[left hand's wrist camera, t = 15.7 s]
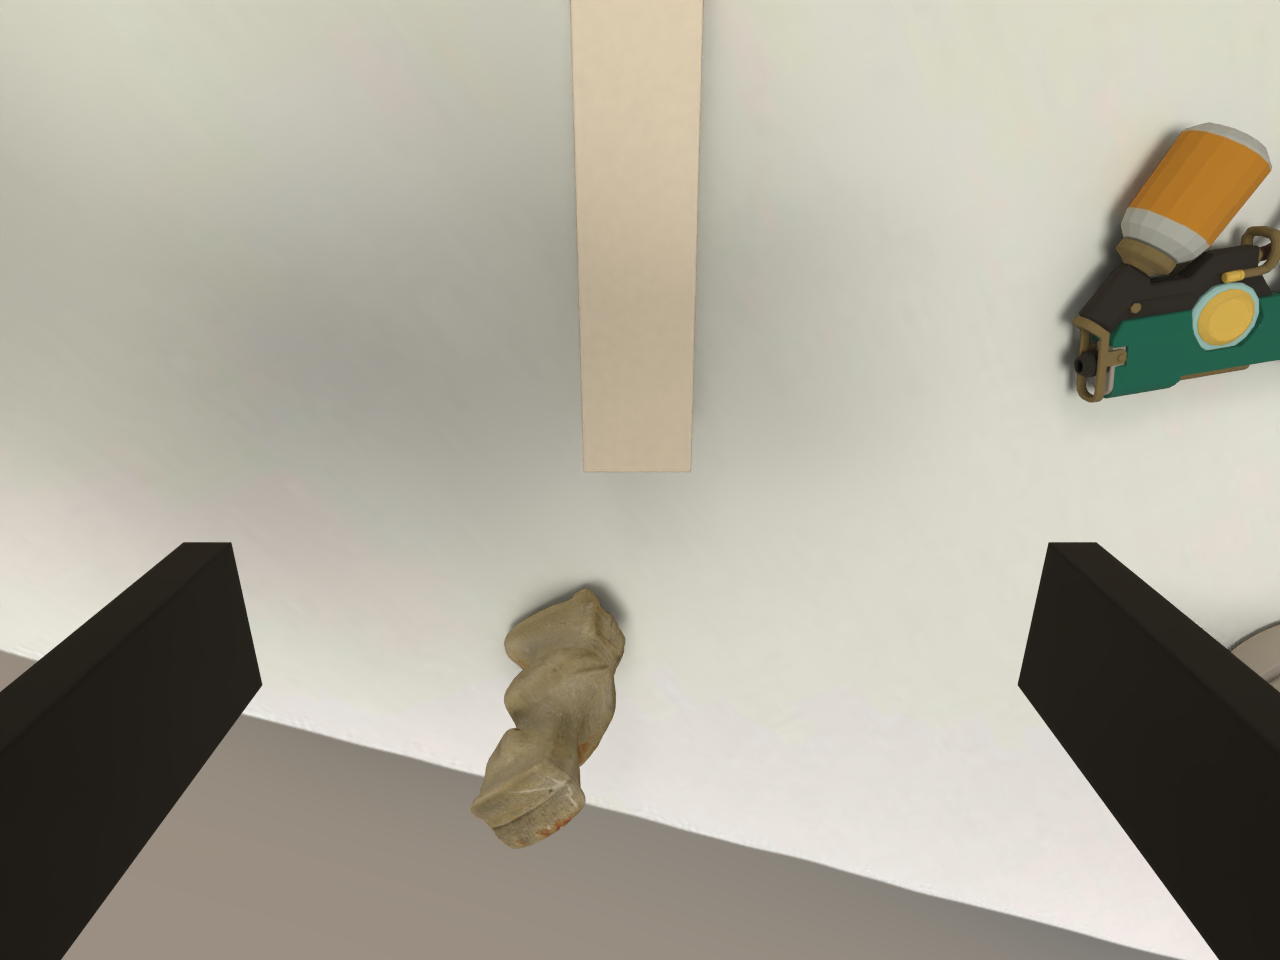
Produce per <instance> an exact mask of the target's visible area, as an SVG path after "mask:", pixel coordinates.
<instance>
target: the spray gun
mask: <svg viewBox="0 0 1280 960" xmlns="http://www.w3.org/2000/svg"><path fill="white" fill-rule="evenodd" d="M1271 169H1272V166H1271V163H1270V159H1269V156H1268V153H1267V150H1266V148H1265V147H1264V146H1263V145H1262V144H1261V143H1260V142H1259V141H1258V140H1256V139H1255V138H1253V137H1251V136H1250V135H1248V134H1246V133H1244V132H1241V131H1239V130H1237V129H1234V128H1231V127H1227V126H1224V125H1219V124H1214V123H1204V124H1200V125H1197V126H1194V127H1191V128H1187V129H1185V130H1184V131H1182V133H1181V134H1180V135H1179V137H1178V138H1177V140H1176V141H1175V142H1174V144H1173V145H1172V147H1171V148H1170V149H1169V151H1168V152H1167V154H1166V155H1165V156H1164V158H1163V159H1162V161H1161V162H1160V163H1159V165H1158V166H1157V168H1156V169H1155V170H1154V172H1153V173H1152V175H1151V176H1150V177H1149V179H1148V180H1147V182H1146V183H1145V184H1144V186H1143V187H1142V189H1141V190H1140V191H1139V193H1138V194H1137V196H1136V197H1135V198H1134V200H1133V201H1132V203H1131V204H1130V205H1129V207H1128V208H1127V210H1126V212H1125V215H1124V217H1123V220H1122V222H1121V229H1122V233H1123V239H1122V240H1121V241H1120V243H1119V244H1118V245H1117V247H1116V250H1117V252H1118V253H1119V255H1120V256H1121V258H1122V261H1123V264H1121V265H1120V266H1119V267H1117V268H1116V269H1115V270H1114V271H1113V272H1112V273H1111V275H1110V276H1109V277H1108V278H1107V280H1106V281H1105V282H1104V283H1103V284H1102V286H1101V287H1100V288H1099V289H1098V290H1097V292H1096V293H1095V294H1094V295H1093V296H1092V298H1091V299H1090V300H1089V301H1088V303H1087V304H1086V305H1085V306H1084V307H1083V309H1082V310H1081V311H1080V312H1079V315H1077V316H1076V317H1075V319H1074V320H1073V321H1072V324H1073V325H1074V326H1075V327H1077V328H1078V329H1080V330H1081V338H1080V350H1079V357H1078V358H1077V359H1076V360H1075V364H1074V365H1075V370H1076V372H1077V391H1078V394H1079V396H1080V397H1081V398H1082V399H1084V400H1086V401H1088V402H1098V401H1101V400H1102V399H1103V398H1111V397H1117V396H1123V395H1129V394H1135V393H1141V392H1147V391H1153V390H1159V389H1165V388H1170V387H1171V386H1173V385H1175V384H1176V383H1177V382H1179V381H1180V380H1185V379H1190V378H1196V377H1202V376H1208V375H1214V374H1220V373H1226V372H1232V371H1238V370H1244V369H1247V368H1248V367H1249V365H1250V364H1256V363H1262V362H1268V361H1274V360H1280V293H1277V292H1273V291H1270V289H1269V287H1268V285H1267V283H1266V282H1265V280H1264V278H1263V276H1262V275H1263V274H1265V273H1268V272H1270V271H1271V270H1272V269H1273V268H1275V266H1276V265H1277V263H1278V262H1279V260H1280V231H1279V230H1276V229H1273V228H1270V227H1267V226H1253V227H1250V228H1248V229H1247V230H1246V232H1245V233H1244V235H1243V236H1242V239H1241V246H1236V247H1230V248H1225V249H1219V250H1213V251H1207V252H1204V251H1205V250H1206V249H1208V248H1209V247H1210V246H1211V245H1212V243H1213V242H1214V241H1215V240H1216V238H1217V237H1218V236H1219V235H1220V233H1221V232H1222V231H1223V230H1224V228H1225V227H1226V226H1227V225H1228V223H1229V222H1230V221H1231V220H1232V218H1233V217H1234V216H1235V215H1236V214H1237V212H1238V211H1239V210H1240V209H1241V207H1242V206H1243V205H1244V204H1245V202H1246V201H1247V200H1248V199H1249V197H1250V196H1251V195H1252V194H1253V192H1254V191H1255V190H1256V189H1257V187H1258V186H1259V185H1260V184H1261V183H1262V181H1263V180H1264V179H1265V178H1266V176H1267V175H1268V174H1269V173H1270V171H1271ZM1254 236H1263V237H1267V238H1269V239H1270V240H1271V243H1269V244H1267V245H1266V246H1262V247H1258V246H1254V245H1253V238H1254ZM1201 253H1202V254H1201ZM1200 254H1201V255H1200ZM1199 255H1200V256H1199ZM1198 256H1199V257H1198ZM1196 257H1197V258H1196ZM1195 258H1196V259H1195ZM1194 259H1195V260H1194ZM1191 260H1194V261H1193V262H1191V263H1190V264H1189V265H1188V266H1187V267H1185V268H1184V269H1183V270H1182V271H1181V272H1179V273H1178V274H1177V275H1174V276H1169V277H1164V278H1159V279H1154V280H1150V278H1149V276H1150V275H1167V274H1169V273H1171V272H1172V270H1173V269H1174V268H1175V266H1176V264H1178V263H1182V262H1187V261H1191ZM1264 260H1267V261H1266V262H1265V263H1264V264H1263V265H1261V266H1258V263H1259V262H1260V261H1264ZM1090 332H1091V333H1092V334H1093V339H1095V340H1097V343H1090V344H1089V340H1090ZM1092 376H1094V377H1093V384H1094V387H1095V393H1094V395H1092V394H1090V393H1089V392H1088V391H1087V388H1086V377H1092Z"/></svg>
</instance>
